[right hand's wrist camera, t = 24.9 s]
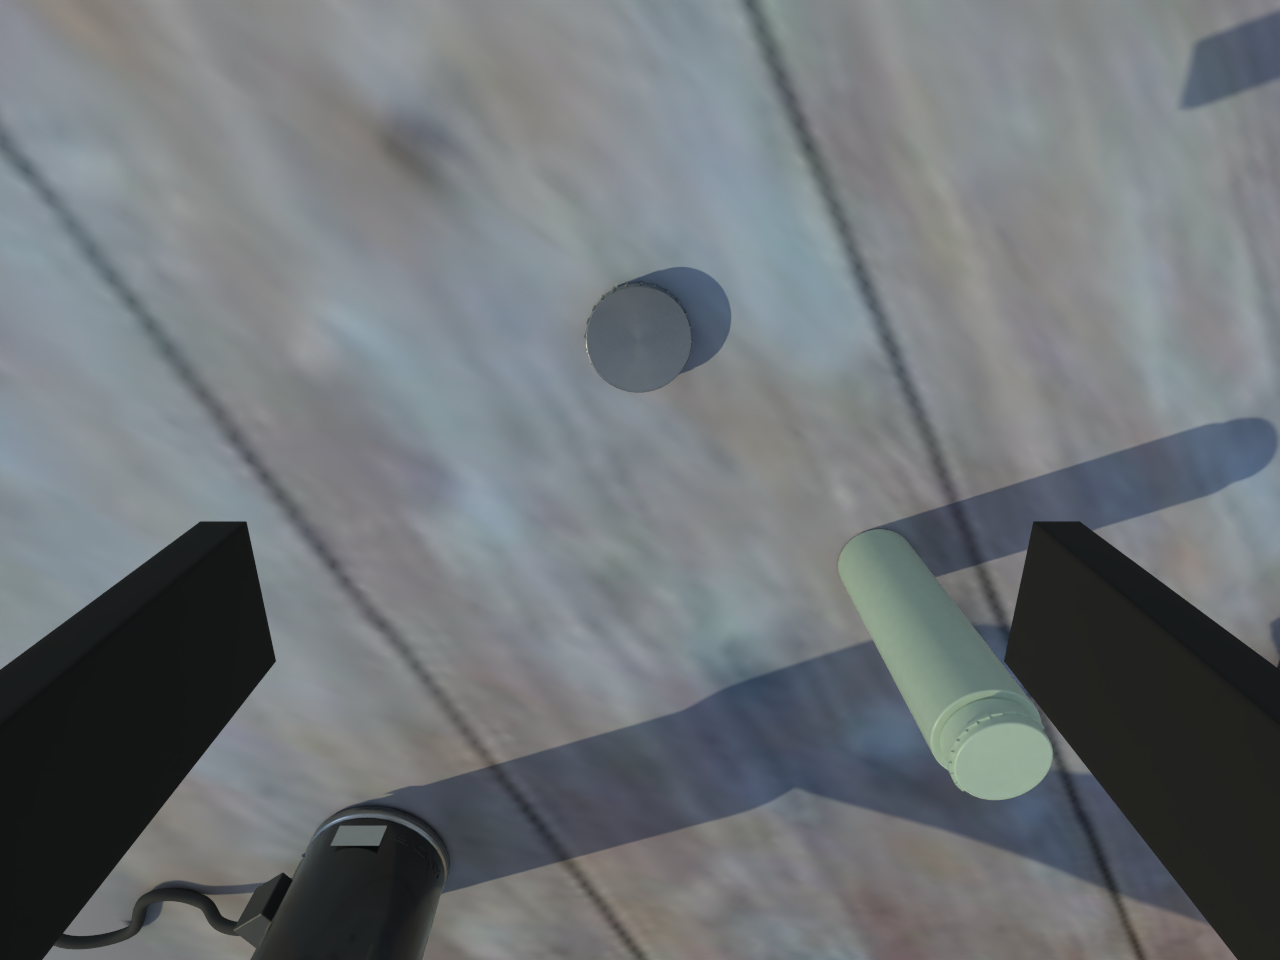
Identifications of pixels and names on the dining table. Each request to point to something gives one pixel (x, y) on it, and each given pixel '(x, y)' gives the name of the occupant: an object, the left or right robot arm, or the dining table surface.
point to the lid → (638, 337)
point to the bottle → (945, 671)
